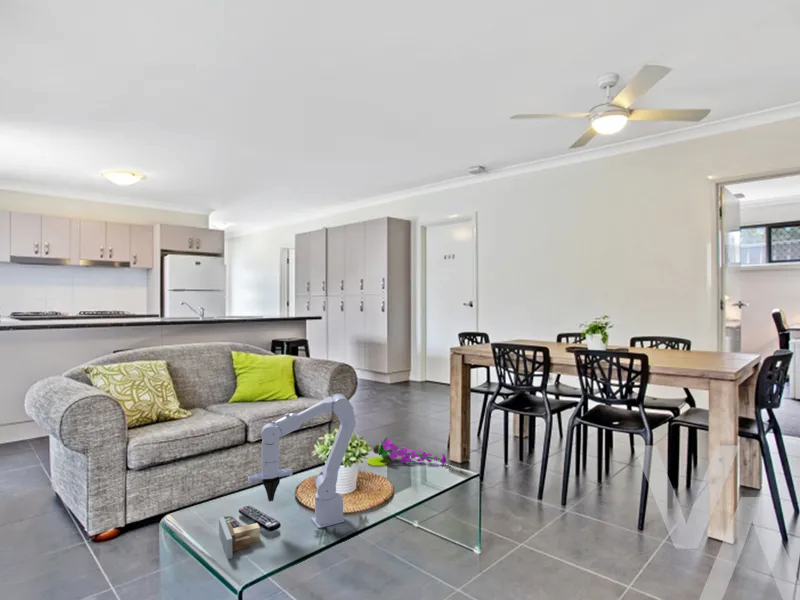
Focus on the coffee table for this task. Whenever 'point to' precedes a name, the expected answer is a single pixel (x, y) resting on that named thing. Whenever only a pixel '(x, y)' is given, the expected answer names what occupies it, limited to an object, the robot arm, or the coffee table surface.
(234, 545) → the brown u-shaped bracket
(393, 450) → the purple flowers
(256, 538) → the cream wooden bar
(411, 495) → the coffee table surface
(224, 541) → the backstop wall
